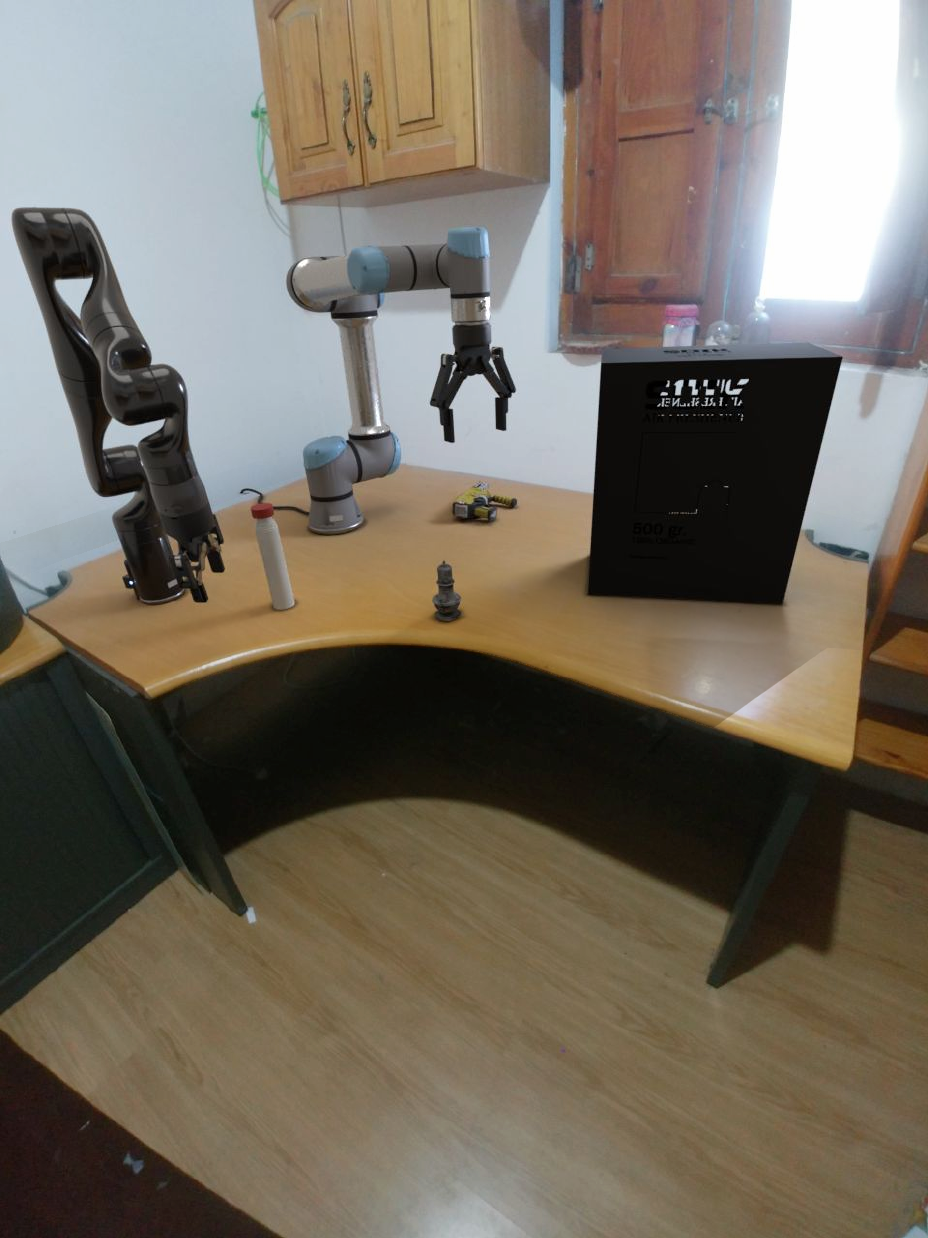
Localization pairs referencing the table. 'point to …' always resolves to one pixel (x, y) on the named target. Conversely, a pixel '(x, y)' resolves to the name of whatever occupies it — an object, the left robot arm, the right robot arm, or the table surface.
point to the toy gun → (479, 503)
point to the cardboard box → (705, 469)
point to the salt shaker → (446, 595)
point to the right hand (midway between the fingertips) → (475, 435)
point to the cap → (262, 510)
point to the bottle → (274, 563)
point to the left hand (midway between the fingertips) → (210, 586)
